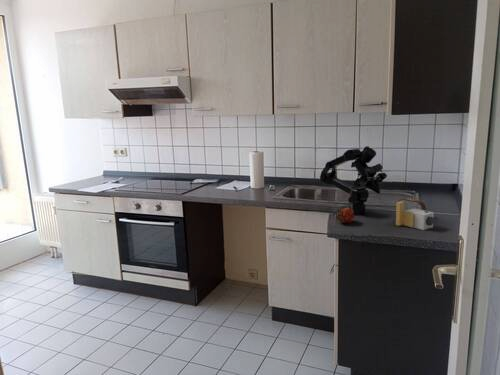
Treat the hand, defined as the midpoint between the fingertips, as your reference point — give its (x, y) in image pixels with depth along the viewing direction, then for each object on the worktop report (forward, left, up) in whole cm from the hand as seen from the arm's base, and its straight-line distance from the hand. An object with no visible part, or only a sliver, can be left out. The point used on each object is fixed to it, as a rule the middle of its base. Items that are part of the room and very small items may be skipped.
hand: (379, 193), depth 192 cm
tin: (+19, +6, -14) cm, 24 cm away
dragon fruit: (-17, -3, -14) cm, 22 cm away
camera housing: (+14, -13, -14) cm, 24 cm away
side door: (+8, -13, -13) cm, 20 cm away
